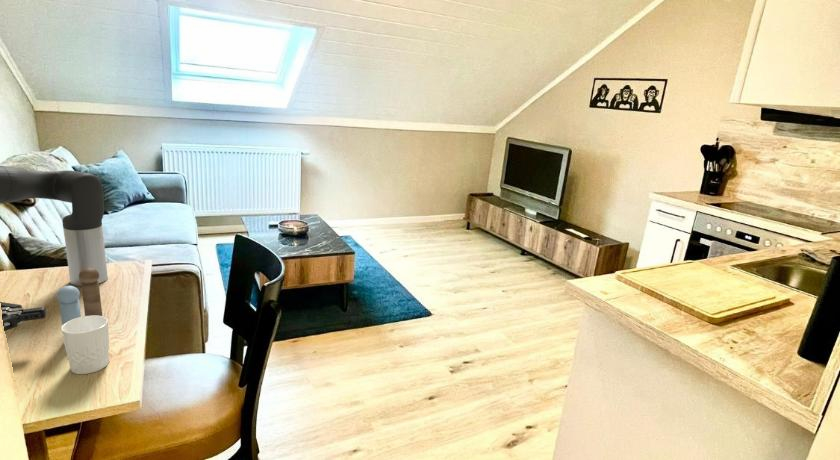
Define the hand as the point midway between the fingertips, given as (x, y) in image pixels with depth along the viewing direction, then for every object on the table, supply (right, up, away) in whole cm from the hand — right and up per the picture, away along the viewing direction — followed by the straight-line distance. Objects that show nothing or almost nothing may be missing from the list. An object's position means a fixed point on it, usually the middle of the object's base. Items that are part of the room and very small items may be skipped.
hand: (45, 312), depth 101 cm
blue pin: (+3, -7, +4) cm, 9 cm away
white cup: (+13, -11, -4) cm, 18 cm away
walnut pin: (0, -4, +15) cm, 15 cm away
